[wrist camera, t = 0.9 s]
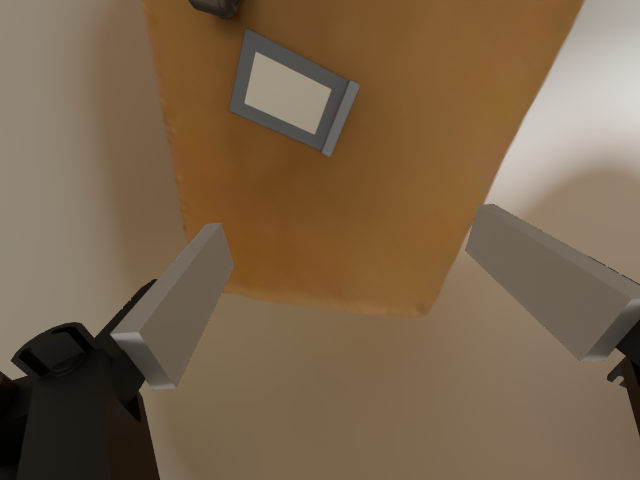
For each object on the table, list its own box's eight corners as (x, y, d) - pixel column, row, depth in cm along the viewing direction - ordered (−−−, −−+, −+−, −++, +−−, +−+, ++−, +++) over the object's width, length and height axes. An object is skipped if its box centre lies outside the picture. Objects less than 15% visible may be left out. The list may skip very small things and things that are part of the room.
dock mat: (246, 29, 34) (241, 23, 31) (357, 86, 37) (360, 85, 35) (230, 110, 38) (224, 111, 36) (329, 153, 42) (330, 156, 40)
